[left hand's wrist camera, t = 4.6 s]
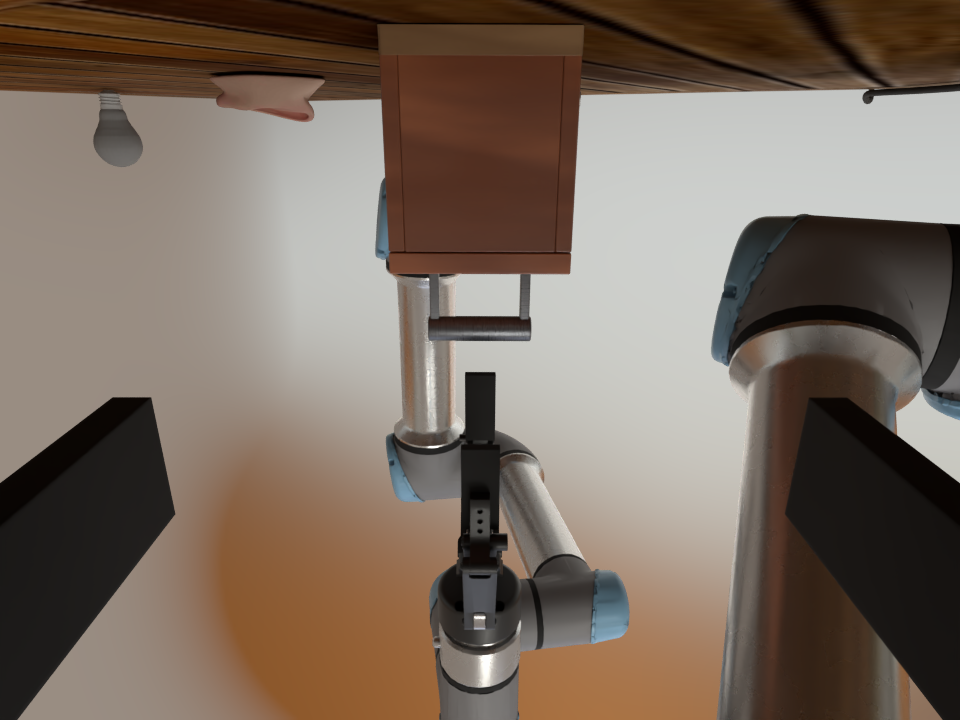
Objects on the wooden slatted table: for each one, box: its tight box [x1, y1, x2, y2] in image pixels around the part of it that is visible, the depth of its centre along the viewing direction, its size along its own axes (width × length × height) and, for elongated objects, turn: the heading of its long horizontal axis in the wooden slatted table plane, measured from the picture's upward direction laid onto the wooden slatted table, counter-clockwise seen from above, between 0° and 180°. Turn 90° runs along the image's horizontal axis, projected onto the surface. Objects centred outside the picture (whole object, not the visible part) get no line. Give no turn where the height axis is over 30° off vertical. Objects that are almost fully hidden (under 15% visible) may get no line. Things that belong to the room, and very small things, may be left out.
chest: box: [377, 24, 584, 252], centre depth 38 cm, size 15×10×11 cm, turn 0°
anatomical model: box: [210, 74, 325, 122], centre depth 64 cm, size 13×4×12 cm
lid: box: [389, 251, 571, 341], centre depth 42 cm, size 16×10×9 cm, turn 0°
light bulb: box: [94, 90, 143, 167], centre depth 87 cm, size 6×6×10 cm
